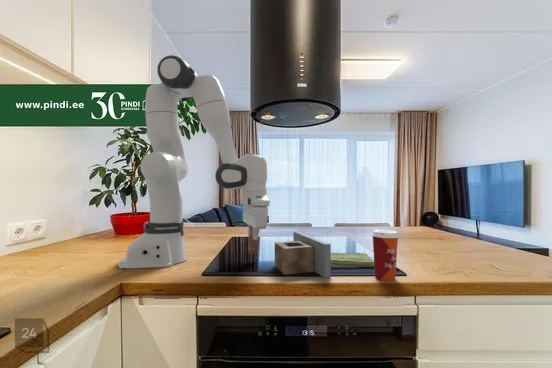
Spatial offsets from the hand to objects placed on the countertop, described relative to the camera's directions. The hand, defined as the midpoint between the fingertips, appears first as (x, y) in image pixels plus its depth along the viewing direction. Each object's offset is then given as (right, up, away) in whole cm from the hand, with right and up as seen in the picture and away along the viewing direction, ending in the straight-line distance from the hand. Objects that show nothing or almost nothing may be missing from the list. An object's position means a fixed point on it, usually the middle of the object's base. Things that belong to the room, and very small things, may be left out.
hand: (253, 237), depth 104 cm
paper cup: (+41, -9, -18) cm, 45 cm away
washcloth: (+34, -9, -2) cm, 35 cm away
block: (+14, -9, -8) cm, 19 cm away
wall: (+20, -9, -6) cm, 22 cm away
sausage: (0, -5, 0) cm, 5 cm away
